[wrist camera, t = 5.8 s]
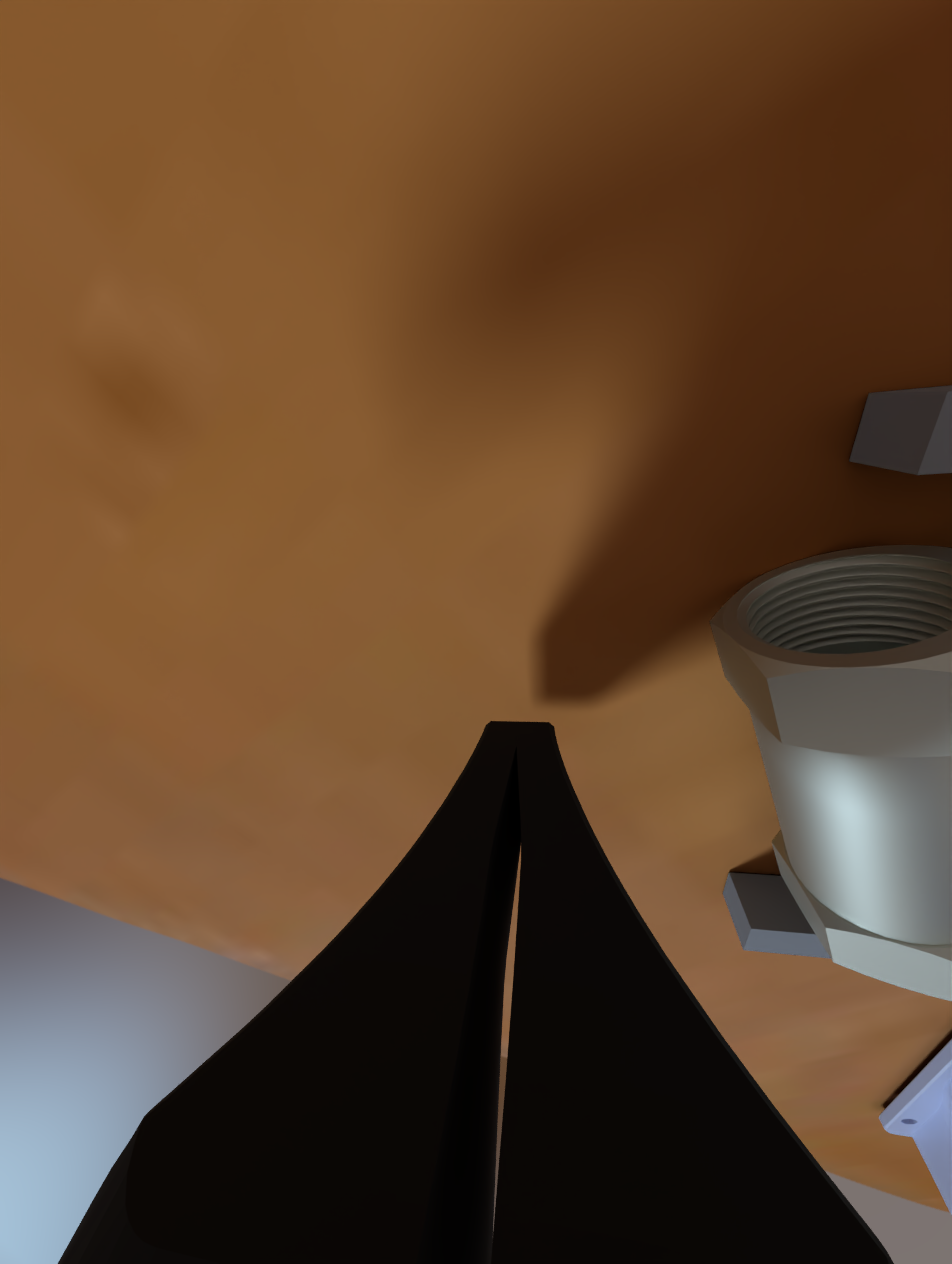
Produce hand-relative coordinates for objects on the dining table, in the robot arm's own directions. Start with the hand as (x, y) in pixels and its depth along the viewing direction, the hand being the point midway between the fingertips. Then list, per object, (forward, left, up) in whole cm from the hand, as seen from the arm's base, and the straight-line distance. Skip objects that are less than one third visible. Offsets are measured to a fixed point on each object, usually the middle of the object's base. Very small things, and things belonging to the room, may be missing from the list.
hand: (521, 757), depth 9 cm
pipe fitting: (0, -8, -2) cm, 8 cm away
